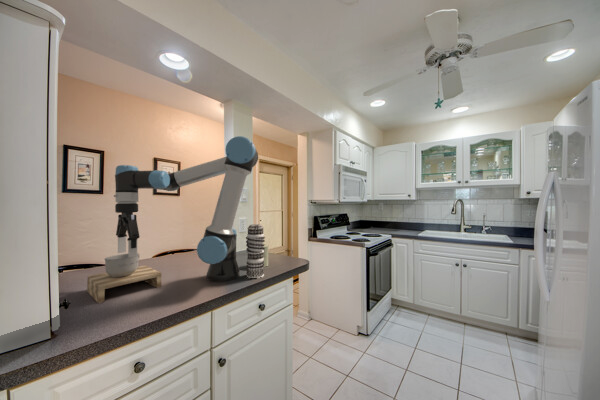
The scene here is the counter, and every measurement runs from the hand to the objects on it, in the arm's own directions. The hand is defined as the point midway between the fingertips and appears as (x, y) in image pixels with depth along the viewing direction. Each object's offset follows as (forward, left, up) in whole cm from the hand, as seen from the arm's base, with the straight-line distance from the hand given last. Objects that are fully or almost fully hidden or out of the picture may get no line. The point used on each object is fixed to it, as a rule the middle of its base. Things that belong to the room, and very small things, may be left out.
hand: (127, 254), depth 92 cm
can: (-18, -58, -14) cm, 62 cm away
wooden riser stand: (0, 0, -14) cm, 14 cm away
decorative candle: (-29, -44, -14) cm, 54 cm away
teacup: (+1, 0, -8) cm, 8 cm away
